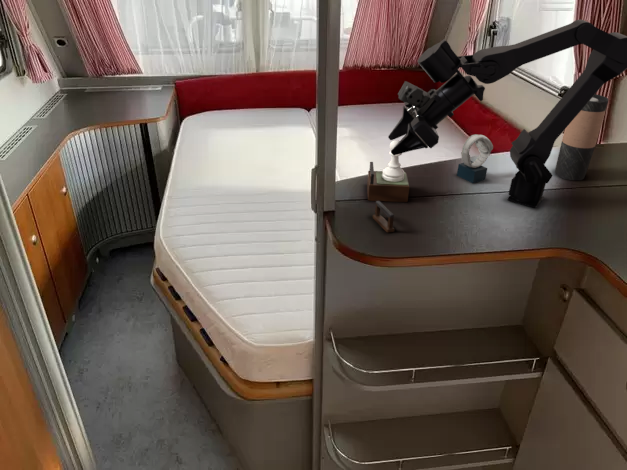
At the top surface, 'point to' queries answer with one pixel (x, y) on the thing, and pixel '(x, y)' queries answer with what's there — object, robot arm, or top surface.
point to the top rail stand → (386, 187)
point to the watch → (474, 169)
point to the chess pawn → (393, 167)
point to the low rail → (380, 220)
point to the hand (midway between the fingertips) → (390, 145)
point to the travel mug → (581, 140)
